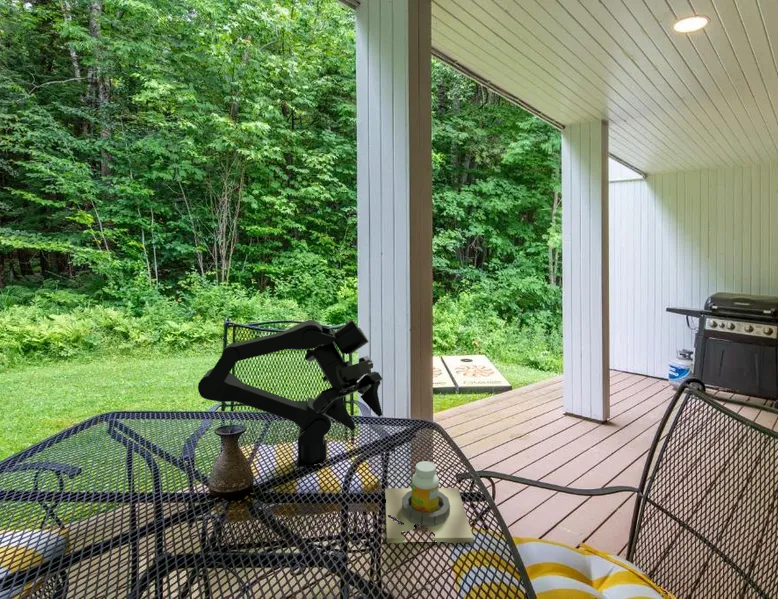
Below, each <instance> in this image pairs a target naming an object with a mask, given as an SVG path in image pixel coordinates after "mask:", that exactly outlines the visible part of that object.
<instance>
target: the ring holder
mask: <svg viewBox="0 0 778 599" xmlns="http://www.w3.org/2000/svg"><path fill="white" fill-rule="evenodd" d="M384 497H385V499H386V503H385V525H386V528H385V529H386V530H385V531H386V532H385V533H386V544H404V543H403V541H404V540H405V539H406V538H405V537H404V536H403V535H401V531H404V532H407V531H410V530H413V529H415V527H414V525H415V524H418V525H419V526H423V525H426V526H427V528H428V530H429V531H430V532H433V533H434V534H435V537H434V538H432V540H433V539H434V540H435V541H437V543H436V544H441V543H440V542H447V543H446V544H448V543H449V544H451V543H452V544H453V543H455V544H456V543H458V544H459V543H466V544H467V543H474V535H473V531H472V529H471V525H470V523H469V519H468V516H467V514H466V510H465V506H464V502H463V501H462V497H461V494H460V490H459V487H439V494H438V511H436V512H433V513H422V512H419V511H416V510H414V509H413V508H412V507H411V500H412V487H409V488H408V487H406V488H405V487H403V488H401V487H398V488H397V487H396V488H395V487H393V488H384ZM388 515H391V516H393V517H395V518H396V519H398V520H400V521H401V522H403V523H404V525H401V524H398V523H397V522H395V521H393V520H391V519H390V518H389V517H388Z"/></svg>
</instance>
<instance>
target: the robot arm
mask: <svg viewBox="0 0 778 599" xmlns="http://www.w3.org/2000/svg"><path fill="white" fill-rule="evenodd" d="M369 342H370V341H369V340H368V338H367V336H366V335H365V333H364V332H363V330H362V329H361V327H359V326H358V325H357V324H356V323H355V321H354V320H353V319H349V321H347V322H346V323H345V324H344V325H343V326H340V327H339V328H338V329H337V330H336V331H335V329H332V328H330V327H329V328H328V327H325V326H323V325H321V324H320V322H318V321H317V320H314V319H308V320H305V321H303V322H299V323H298V324H296V325H294V326H292V327H290V328H288V329H286V330H283V331H281V332H277V333H272V334H269V335H264V336H260V337H256V338H253V339H252V338H251V339H248V340H243V341H239V342H232V343H229V344H227V345H226V347H225V348H224V349H223V350H222V353H221V355H220V357H219V359H218V360H217V362H216V364H215V365H214V366H213V368H210V369H209V370H207V372H206V373H205V374H204V375H203V376H202V378H201V379H200V380H199V382H198V383H197V384H198V385H197V391H198V393H199V396H200V397H201V398H203V399H204V400H208V401H212V402H213V401H214V402H219V403H228V402H233V403H234V402H235V403H238V404H241V405H245V406H248V407H250V408H253V409H257V410H259V411H262V412H265V413H268V414H271V415H274V416H277V417H279V418H282V419H285V420H287V421H288V420H289V421H291V422H292V423H294V424H295V425H296V426H298V427H299V430H298V437H297V460H296V466H297V467H312V466H311V465H314V464H318V463H321V462H323V461H324V460H325V461H326V460H327V457H328V440H326V438H325V435H326V434H329V432H330V430H331V427H332V419H334V420H336V421H337V422H339V423H340V424H342V425H343V426H345V427H346V428H348V429H350V430H351V431H354V430H356V425H355V422H354V420H353V418H352V417H351V415H350V414H349V412H348V410H347V409H346V407H345V402H344V401H345V400H344V397H347V396H349V395H351V394H354V393H356V392H357V393H358V394H361V396H360V399H361V400H363V402H364V404H366V405H367V406H368V407H369V409H371V411H372V412H373V413H374V414H375V415H376V416H377V417H378V418H381V417H382V416H383V411H382V407H381V404H380V403H381V402H380V400H379V392H378V390H379V387H380V385H381V382H382V381H383V377H382V376H381V374H380V372H378V371H373V372H372V371H371V370H372V369H373V368H374V363H373V360H372V359H371V358H370V357H369V356H368V355H365V356H363V357H360V358H358V362H357V363H354V364H352V362H351V361H349V360H347V361H345V359H344V358H343V356H342V355H341V354H343V355H345V356H346V355H349V356H350V355H352V354H353V353H355V352H357V351H358V350H359V349H361V348H362V347H363V346H366V344H368V343H369ZM336 346H337V347H336ZM338 349H339V350H338ZM284 350H306V353H305V356H304V360H305V361H307V362H310V363H311V362H313V361H314V360H315V362H316V363H317V365H318V367H319V368H320V371H321V372H322V373H323V375H324V376H323V377H322V380H323V382H324V383H325V382H328V384H329V385H330V388H326V389H324V390H322V391H320V393H319V394H318V395H317V396H316V397H315V398H313V397H312V398H311V397H310V396H309V397H308V398H307V402H306V401H305V402H304V401H303V402H301V401H300V402H299V401H296V400H292V399H290V398H287V397H284V396H282V395H279V394H277V393H276V394H275V393H272V392H270V391H267V390H264V389H262V388H259V387H256V386H253V385H250V384H248V383H245V382H243V381H242V380H240V378H238V377H237V376H236V375H235V374H233V373H232V372H231V371H232V369H233V368H234V366H235V364H236V363H237V362H239V361H243V360H248V359H252V358H256V357H260V356H264V355H268V354H272V353H277V352H280V351H284ZM339 351H340V352H341V354H340V352H339ZM325 461H324V462H325Z"/></svg>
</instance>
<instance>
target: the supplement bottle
mask: <svg viewBox="0 0 778 599" xmlns="http://www.w3.org/2000/svg"><path fill="white" fill-rule="evenodd" d="M436 473H437V466H436V464H435V463H433V462H432V461H427V460H425V461H424V460H423V461H419V462H417V463H416V464H415V473H414V474H413V475H412V478H411V488H412V500H411V507H412V508H413V509H414V510H416V511H419V512H422V513H433V512H436V511H438V494H439V488H440V487H439V486H440V482H439V481H440V479H439V477H438V475H437V474H436Z"/></svg>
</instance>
